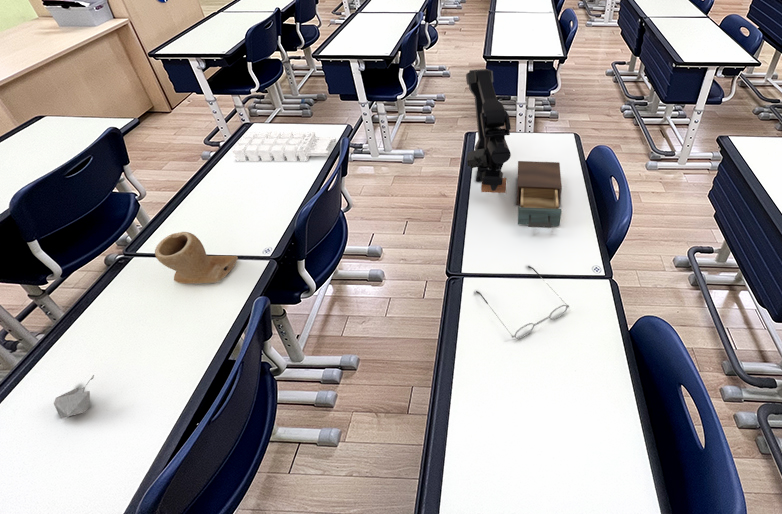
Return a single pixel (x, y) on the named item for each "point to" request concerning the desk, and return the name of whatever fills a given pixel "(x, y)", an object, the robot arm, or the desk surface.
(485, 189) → the brown rectangular box
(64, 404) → the grey faceted ornament
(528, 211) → the drawer
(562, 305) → the eyeglasses
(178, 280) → the clay pipe
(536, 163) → the cabinet
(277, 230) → the desk surface
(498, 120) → the robot arm
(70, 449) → the desk surface
